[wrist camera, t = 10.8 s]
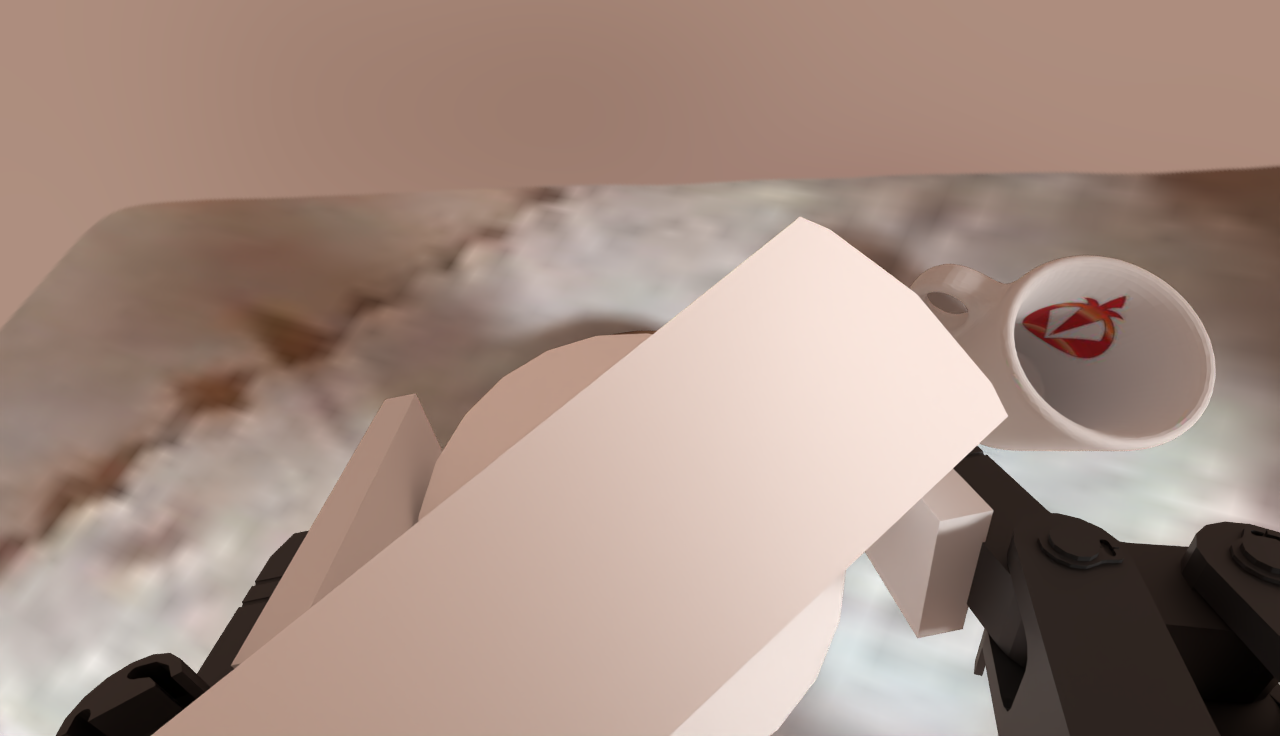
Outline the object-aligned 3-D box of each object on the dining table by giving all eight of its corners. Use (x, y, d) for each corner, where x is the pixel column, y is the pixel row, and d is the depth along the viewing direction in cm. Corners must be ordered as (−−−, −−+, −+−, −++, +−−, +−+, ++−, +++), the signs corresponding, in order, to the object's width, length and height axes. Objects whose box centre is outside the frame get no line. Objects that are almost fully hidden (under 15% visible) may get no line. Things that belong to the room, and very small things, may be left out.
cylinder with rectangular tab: (655, 337, 18) (651, 44, 7) (840, 546, 16) (1294, 648, 5) (445, 506, 17) (-16, 509, 5) (617, 754, 15) (478, 1606, 3)
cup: (835, 368, 28) (901, 317, 21) (914, 264, 30) (1004, 179, 22) (1013, 497, 26) (1160, 495, 19) (1089, 379, 28) (1257, 331, 20)
